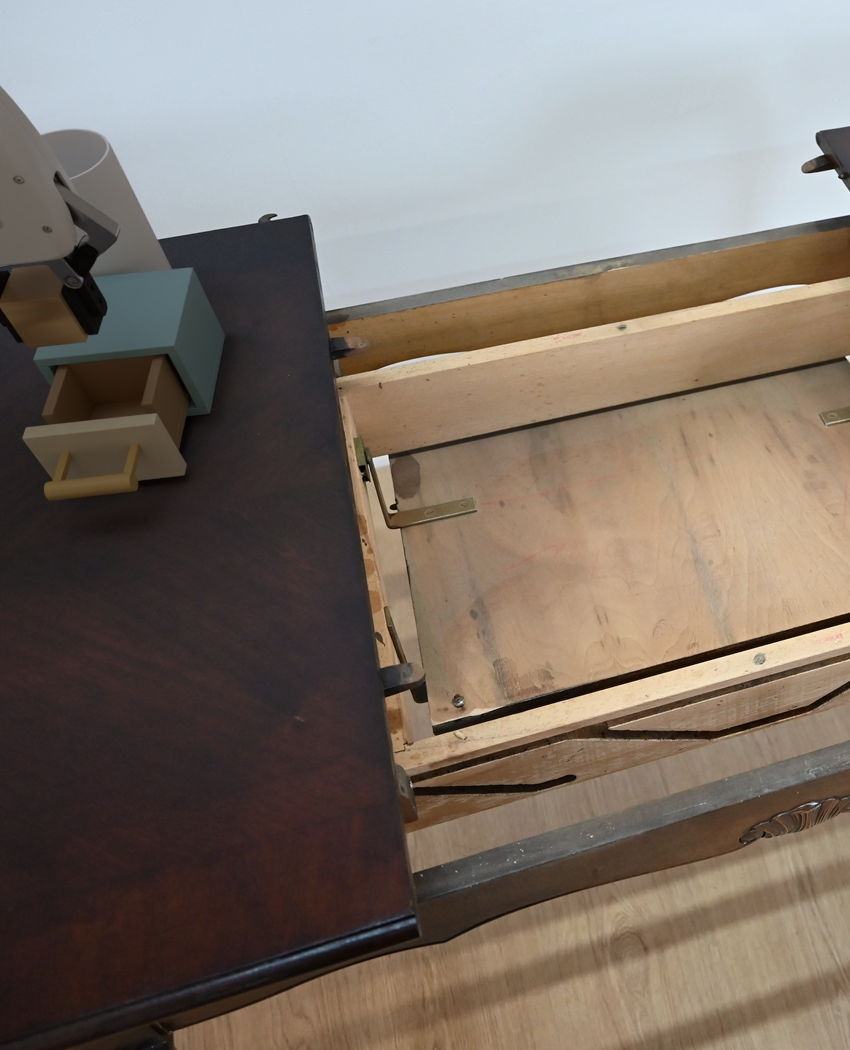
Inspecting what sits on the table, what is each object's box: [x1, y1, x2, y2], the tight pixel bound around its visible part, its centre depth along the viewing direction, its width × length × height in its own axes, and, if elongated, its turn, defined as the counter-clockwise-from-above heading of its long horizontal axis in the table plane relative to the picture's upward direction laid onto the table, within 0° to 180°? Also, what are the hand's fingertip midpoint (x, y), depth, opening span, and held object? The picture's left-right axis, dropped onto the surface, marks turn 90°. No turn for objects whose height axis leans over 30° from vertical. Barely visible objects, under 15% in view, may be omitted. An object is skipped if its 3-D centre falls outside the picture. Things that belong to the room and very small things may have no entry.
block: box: [0, 264, 89, 349], centre depth 73 cm, size 4×4×4 cm
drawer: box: [21, 354, 190, 502], centre depth 80 cm, size 13×9×6 cm
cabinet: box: [32, 266, 226, 417], centre depth 86 cm, size 10×11×8 cm
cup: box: [40, 128, 173, 277], centre depth 89 cm, size 8×8×16 cm
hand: (61, 324), depth 74 cm, fingers closed on block, 4 cm apart
